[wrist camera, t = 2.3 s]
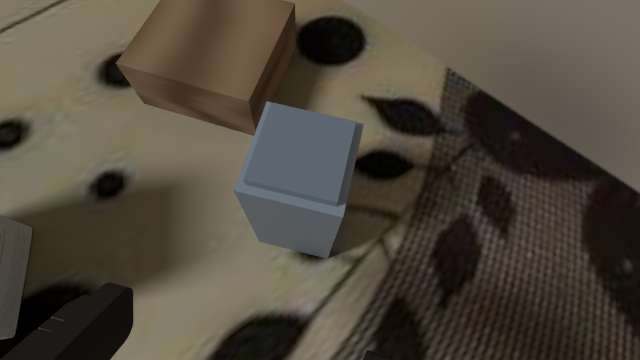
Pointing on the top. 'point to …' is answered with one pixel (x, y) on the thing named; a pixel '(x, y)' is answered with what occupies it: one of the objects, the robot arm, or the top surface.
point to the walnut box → (212, 58)
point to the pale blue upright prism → (298, 177)
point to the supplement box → (12, 272)
